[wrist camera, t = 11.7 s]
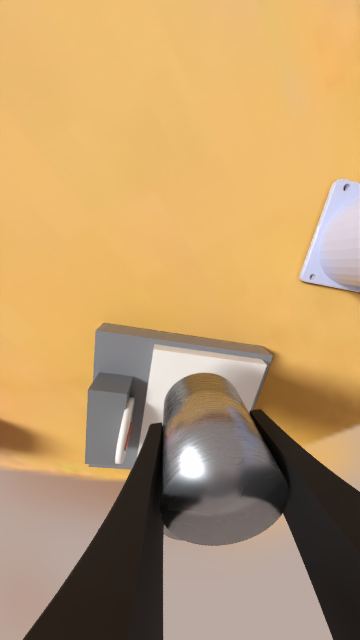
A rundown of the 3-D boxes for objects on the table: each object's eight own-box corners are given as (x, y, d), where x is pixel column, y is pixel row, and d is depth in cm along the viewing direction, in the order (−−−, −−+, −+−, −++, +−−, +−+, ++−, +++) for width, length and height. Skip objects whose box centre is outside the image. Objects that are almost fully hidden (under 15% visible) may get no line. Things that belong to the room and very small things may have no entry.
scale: (262, 346, 19) (307, 386, 13) (224, 458, 23) (243, 527, 17) (103, 322, 17) (67, 355, 11) (96, 448, 22) (67, 521, 16)
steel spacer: (240, 369, 11) (296, 450, 6) (238, 432, 12) (282, 537, 7) (160, 376, 11) (153, 464, 6) (166, 438, 12) (165, 551, 7)
